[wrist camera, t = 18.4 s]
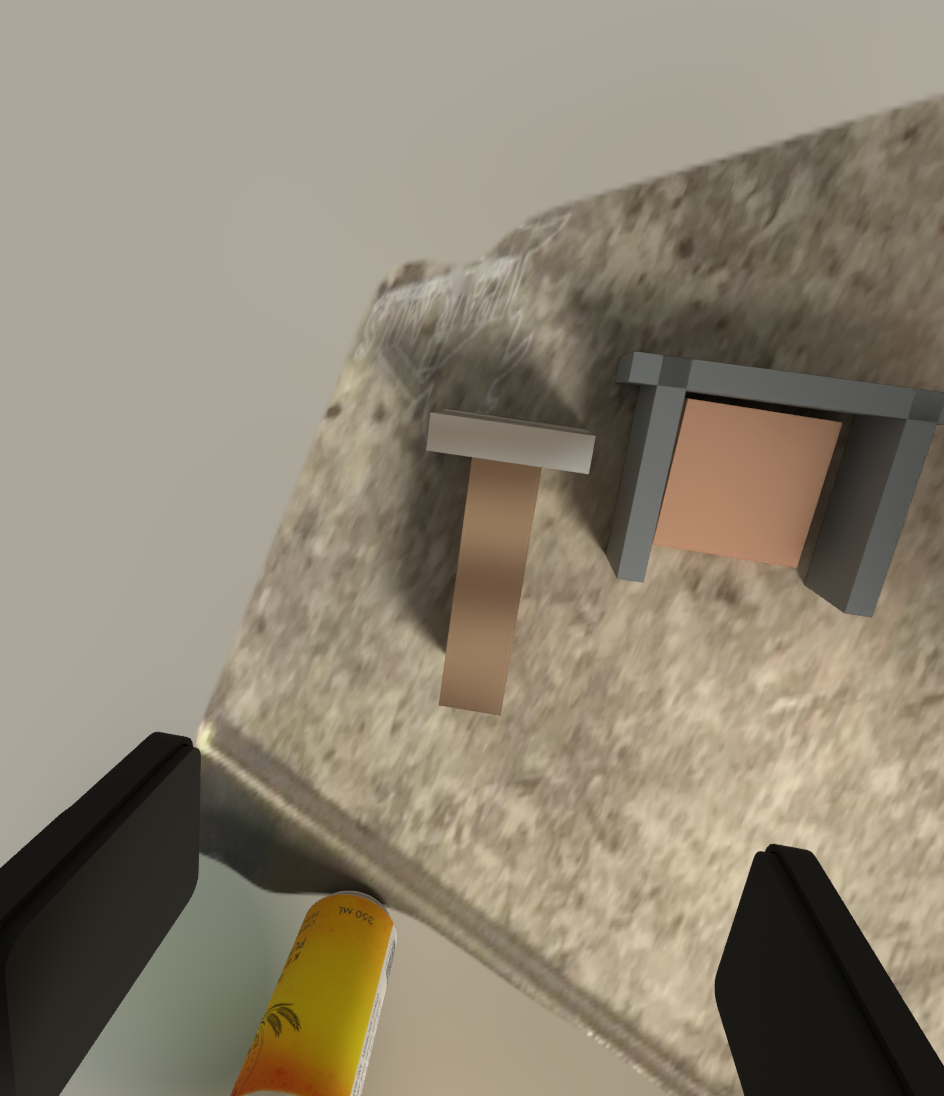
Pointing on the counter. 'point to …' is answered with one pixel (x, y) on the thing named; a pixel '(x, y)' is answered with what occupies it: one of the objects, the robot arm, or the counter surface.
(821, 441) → the tile
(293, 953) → the beer can
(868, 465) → the bay
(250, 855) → the counter surface
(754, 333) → the counter surface
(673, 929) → the counter surface
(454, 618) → the scraper
